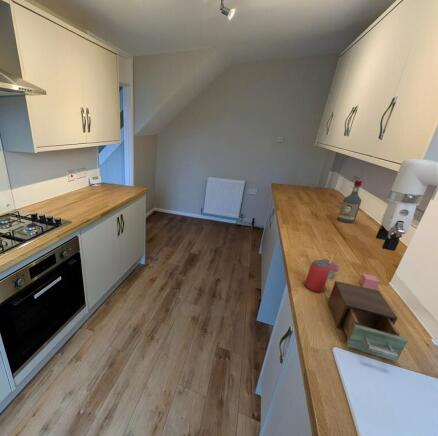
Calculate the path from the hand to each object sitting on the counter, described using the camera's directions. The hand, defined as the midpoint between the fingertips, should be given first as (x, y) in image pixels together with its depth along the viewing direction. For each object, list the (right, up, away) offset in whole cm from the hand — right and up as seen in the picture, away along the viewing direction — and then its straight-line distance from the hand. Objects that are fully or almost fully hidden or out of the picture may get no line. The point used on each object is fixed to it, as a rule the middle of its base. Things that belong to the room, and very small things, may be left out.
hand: (384, 244), depth 84 cm
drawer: (-16, -29, -11) cm, 35 cm away
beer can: (-14, -20, +16) cm, 29 cm away
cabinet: (-11, -27, -1) cm, 29 cm away
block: (+10, -20, +18) cm, 29 cm away
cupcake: (-2, -17, +25) cm, 31 cm away
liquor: (+64, +7, +92) cm, 113 cm away
